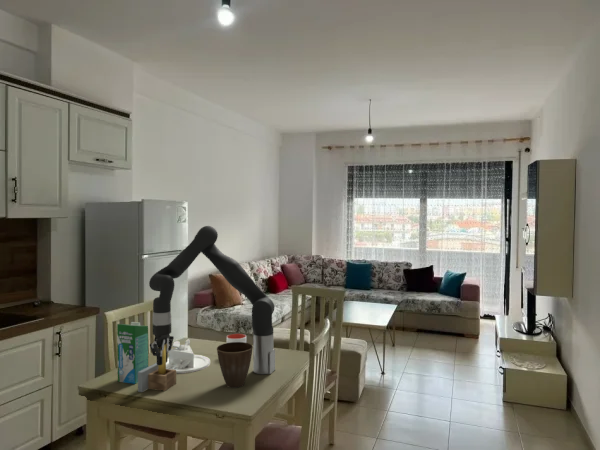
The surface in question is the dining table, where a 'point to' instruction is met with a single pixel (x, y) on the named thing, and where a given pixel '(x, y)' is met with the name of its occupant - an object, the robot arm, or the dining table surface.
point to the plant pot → (234, 362)
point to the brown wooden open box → (162, 380)
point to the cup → (236, 338)
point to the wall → (145, 377)
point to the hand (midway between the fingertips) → (162, 363)
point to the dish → (185, 359)
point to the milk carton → (131, 351)
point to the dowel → (162, 367)
